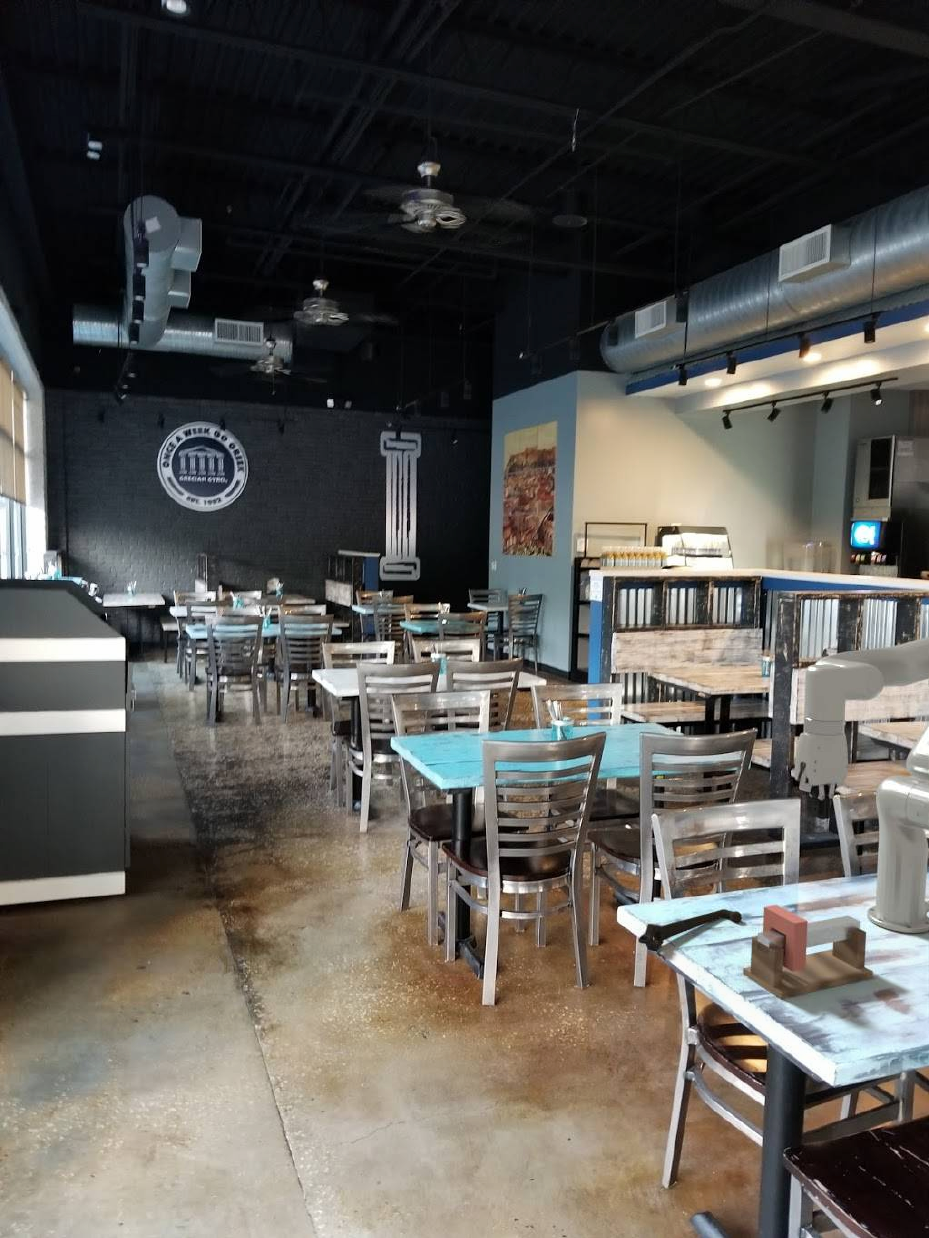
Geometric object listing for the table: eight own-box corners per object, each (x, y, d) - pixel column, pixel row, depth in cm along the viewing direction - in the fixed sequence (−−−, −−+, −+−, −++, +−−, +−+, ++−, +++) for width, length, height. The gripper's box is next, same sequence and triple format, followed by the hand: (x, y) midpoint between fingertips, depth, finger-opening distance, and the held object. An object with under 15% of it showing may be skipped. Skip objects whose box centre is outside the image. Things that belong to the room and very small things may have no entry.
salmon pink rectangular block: (774, 950, 172) (776, 904, 171) (805, 968, 165) (807, 921, 164) (761, 953, 171) (763, 906, 170) (792, 971, 164) (794, 923, 163)
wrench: (743, 930, 195) (655, 960, 176) (723, 924, 199) (635, 952, 180) (744, 906, 195) (656, 933, 176) (723, 900, 199) (636, 926, 180)
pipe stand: (832, 955, 180) (833, 915, 179) (872, 977, 170) (874, 936, 170) (743, 974, 171) (744, 933, 170) (780, 999, 162) (782, 955, 161)
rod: (846, 930, 176) (847, 913, 176) (860, 938, 173) (861, 920, 173) (756, 949, 167) (757, 931, 167) (769, 957, 164) (770, 938, 164)
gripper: (837, 720, 186) (834, 807, 188) (781, 726, 180) (778, 816, 182) (866, 727, 179) (863, 817, 181) (809, 734, 173) (806, 827, 175)
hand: (820, 816), depth 181 cm, fingers closed
